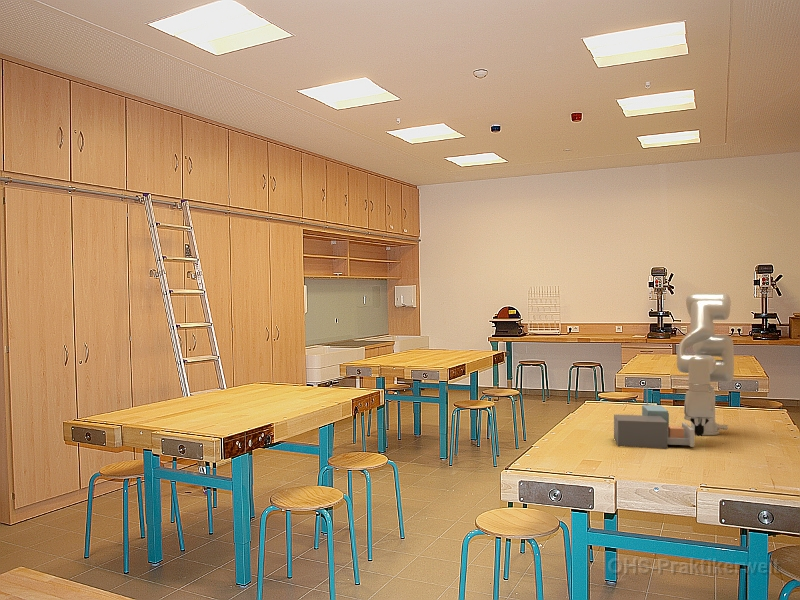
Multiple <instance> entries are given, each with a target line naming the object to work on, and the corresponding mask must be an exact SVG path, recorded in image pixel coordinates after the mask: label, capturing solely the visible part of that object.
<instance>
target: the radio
mask: <svg viewBox="0 0 800 600" xmlns="http://www.w3.org/2000/svg"><path fill="white" fill-rule="evenodd" d="M648 393H649V392H648V386H646V404H642V405H641V415H643V416H661V417H662V418H663V419H664V420H665V421H666V422H667V433H668V426H670V416H669V415H670V413H669V411H668V410H667V409H666V408H665V407H664V406H663V405H660V404H659V405H658V404H656V405H655V404H649V400H648V399H649V396H648Z"/></svg>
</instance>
